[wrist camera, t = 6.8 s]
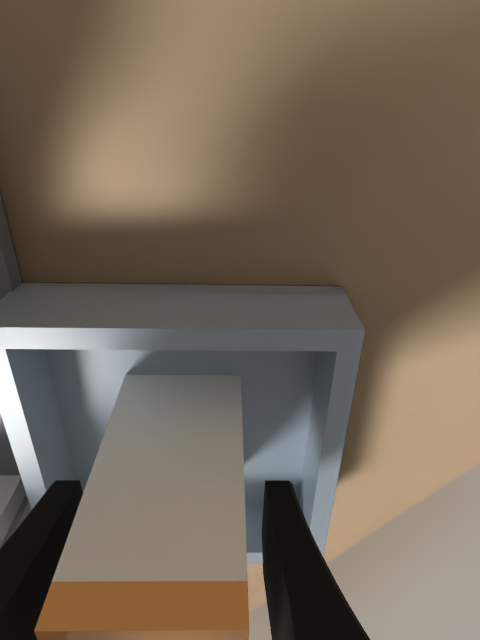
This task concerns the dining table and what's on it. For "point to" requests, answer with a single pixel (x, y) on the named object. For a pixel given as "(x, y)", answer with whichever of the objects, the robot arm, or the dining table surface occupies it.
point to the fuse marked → (159, 521)
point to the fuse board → (3, 474)
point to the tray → (183, 359)
